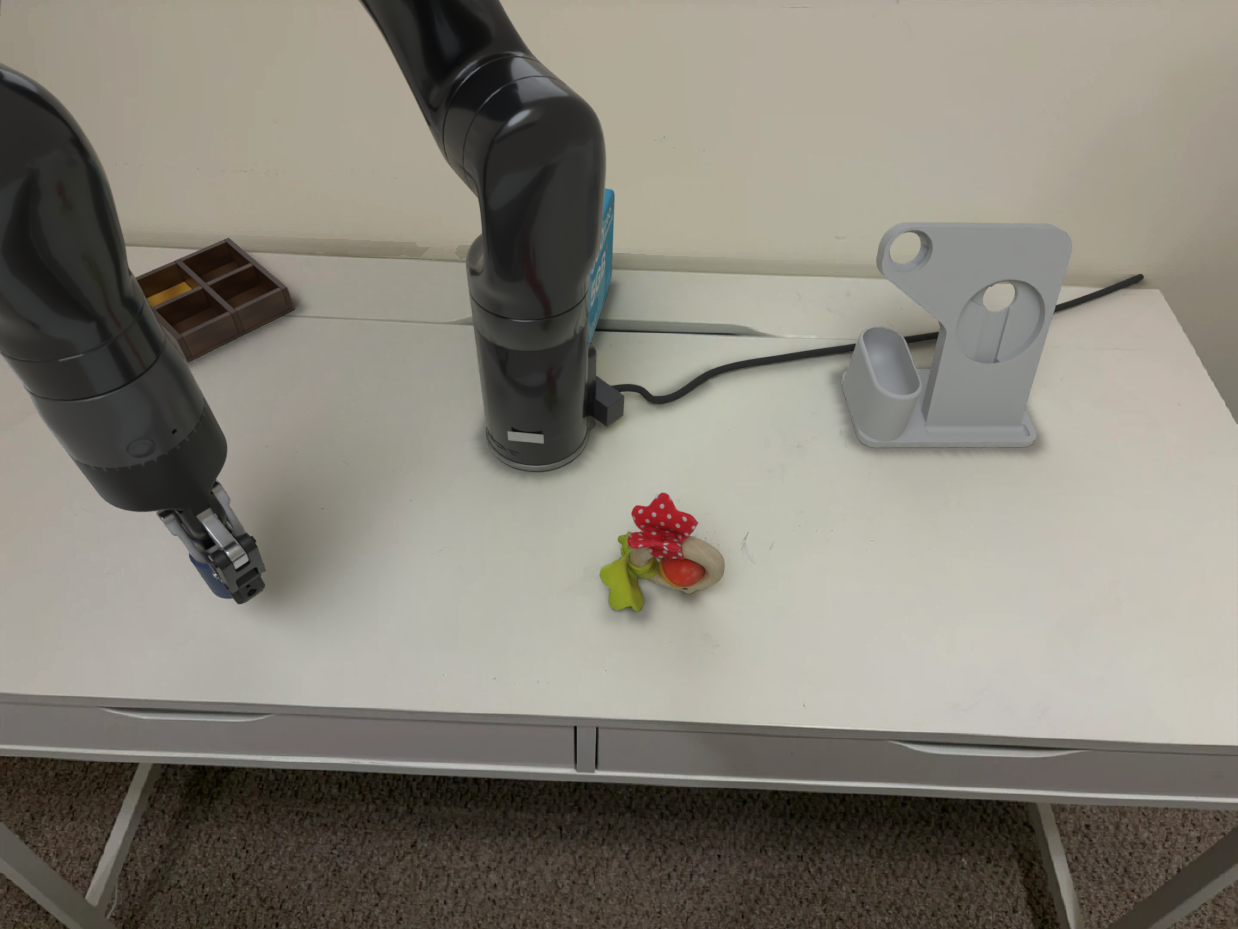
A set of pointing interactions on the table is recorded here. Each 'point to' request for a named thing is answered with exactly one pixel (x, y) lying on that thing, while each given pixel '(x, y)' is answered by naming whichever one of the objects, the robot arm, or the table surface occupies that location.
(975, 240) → the phone holder
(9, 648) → the table surface
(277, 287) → the grid
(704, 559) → the bird rattle
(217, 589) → the blue cylinder
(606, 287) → the data package
